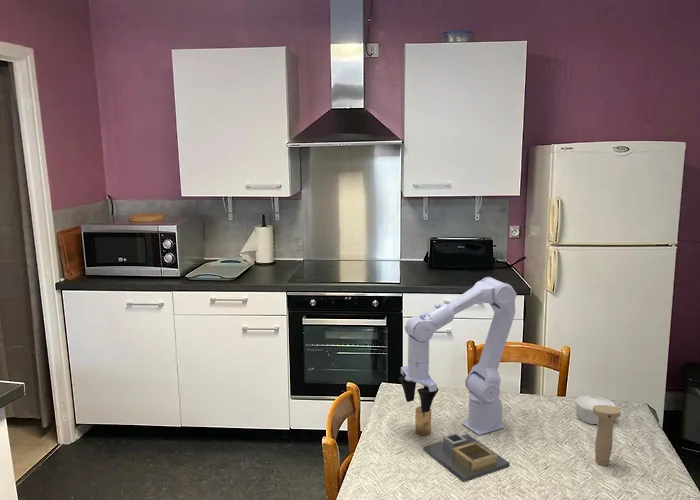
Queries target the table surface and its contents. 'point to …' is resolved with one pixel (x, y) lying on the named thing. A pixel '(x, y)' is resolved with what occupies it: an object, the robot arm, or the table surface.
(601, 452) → the handle
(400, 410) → the table surface
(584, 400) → the ramekin
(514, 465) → the table surface
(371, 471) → the table surface
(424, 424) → the cylindrical peg
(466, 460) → the fitting plate
